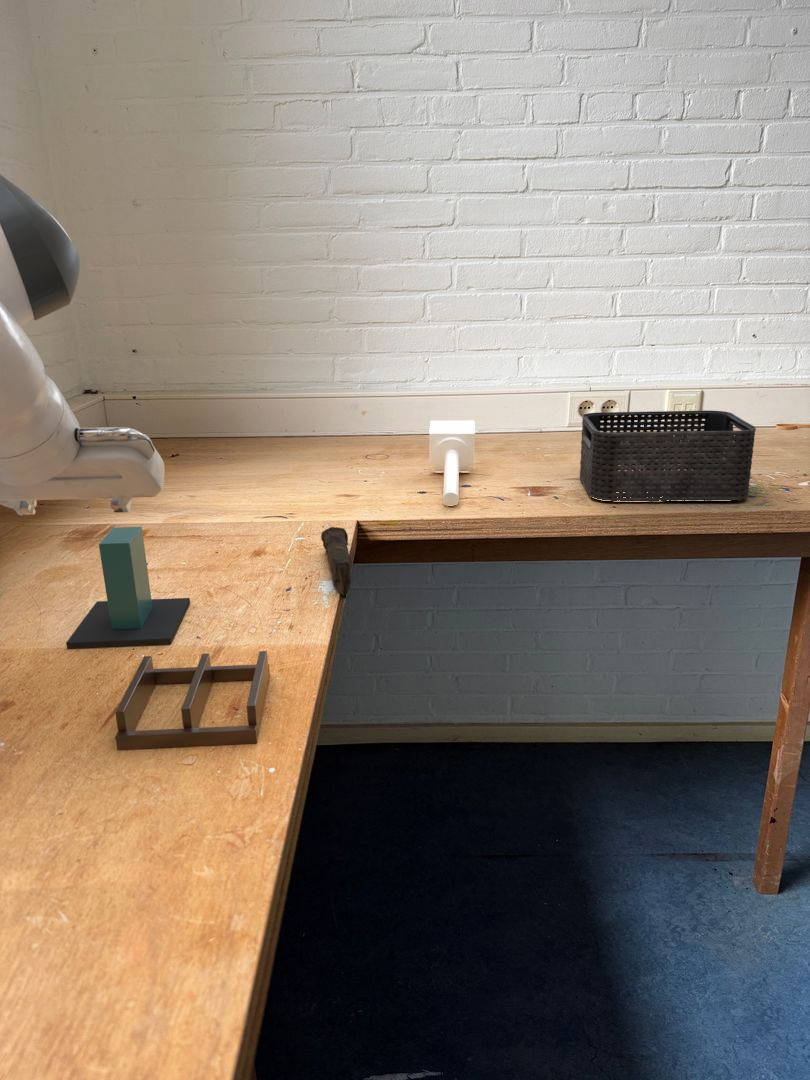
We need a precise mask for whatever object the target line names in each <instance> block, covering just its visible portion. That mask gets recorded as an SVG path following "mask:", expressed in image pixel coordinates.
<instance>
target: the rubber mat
mask: <svg viewBox="0 0 810 1080" xmlns="http://www.w3.org/2000/svg"><path fill="white" fill-rule="evenodd" d="M151 600H152V607H153V608H152V610H151V612H150V613H149V615H148V617H147V619H146V620H145V622H144V624H143V626H142V628H140V629H115V630H112V628H111V621H110V615H109V608H108V602H107V600H98V601H97V600H96V602H95V603H94V605H93V606H92V607H91V608H90V610H89V611H88V613H87V614H86V615H85V617H84V618H83V619H82V621H81V622H80V623H79V625H78V626H77V627H76V629H75V630H74V631H73V633H72V634H71V635H70V637H69V638H68V640H67V641H66V644H65V645H66V648H67V649H68V650H69V649H91V648H92V649H93V648H117V647H136V646H139V647H141V646H142V647H143V646H162V645H172V643H173V640H175V636H176V634H177V632H178V630H179V627H180V625H181V623H182V622H183V619H184V617H185V615H186V613H187V611H188V609H189V606H190V604H191V598H190V597H175V598H173V597H172V598H153V599H152V598H151Z"/></svg>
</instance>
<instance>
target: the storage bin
mask: <svg viewBox="0 0 810 1080" xmlns="http://www.w3.org/2000/svg"><path fill="white" fill-rule="evenodd" d="M581 419H582V421H581V422H582V423H581V425H582V426H581V428H582V429H581V441H580V445H581V447H580V462H579V464H580V467H579V468H580V469H579V481H580V482H581V481H582V482H581V484H582V483H583V484H582V486H583V485H584V486H583V487H585V488H586V490H587V491H586V490H585V491H586V493H587V492H588V493H589V495H590V496H591V497H594V498H597V499H602V500H611V501H617V500H618V501H619V500H620V501H659V500H661V501H667V500H669V501H671V500H684V501H685V500H704V501H705V500H738V501H743V500H742V499H744V500H746V499H748V497H749V490H750V489H749V488H750V480H751V473H752V472H751V470H752V464H753V455H754V446H755V436H756V431H757V427H756V426H755V425H753V424H751V423H749V422H747V421H746V420H744V419H742V418H741V417H739V416H738V415H736V414H734V413H732V412H729V411H723V410H664V411H663V410H660V411H659V410H658V411H656V410H655V411H603V412H601V411H599V412H588V413H584V414H582V418H581ZM734 427H735V428H737V429H738V430H734ZM585 488H584V489H585ZM616 492H619V493H616ZM623 492H625V493H623ZM647 492H648V493H647ZM588 493H587V494H588ZM589 495H588V496H589ZM662 496H663V497H662ZM617 497H618V498H617ZM623 497H626V498H623ZM630 497H631V498H630ZM647 497H648V498H647ZM652 497H653V498H652ZM660 497H662V498H660ZM745 498H746V499H745Z"/></svg>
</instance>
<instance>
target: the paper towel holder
mask: <svg viewBox="0 0 810 1080" xmlns="http://www.w3.org/2000/svg"><path fill="white" fill-rule="evenodd" d="M428 436H429V438H428V445H429V446H428V447H429V448H428V451H429V452H428V453H429V456H428V457H429V459H428V460H429V462H428V463H429V470H433V472H434V471H444V474H443V487H442V503H443V505H444V506H446V505H456V506H457V505H458V503H459V499H460V489H459V488H460V474H459V471H470V472H471V470H475V462H476V461H475V459H476V458H475V455H476V451H475V450H476V425H475V420H430V423H429V431H428Z"/></svg>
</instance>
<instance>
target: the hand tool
mask: <svg viewBox="0 0 810 1080" xmlns="http://www.w3.org/2000/svg"><path fill="white" fill-rule="evenodd" d="M320 540H321V541H322V546H323V548H324V550H325V554H326V555H327V561H328V565H329V569H330V570H329V571H330V575H331V580H332V585H333V587H334V589H335V590H337V592H338V593H339V594H341V595H342V596H346V595H347V594H348V593H349V591H350V588H351V582H352V575H351V574H352V572H351V571H352V569H351V567H352V565H351V564H352V562H351V561H352V559H351V555H350V553H349V547H348V546H349V535H348V532H347V531H346V528H343V527H337V526H331V527H329V528H326V529H324V530H323V531H322V532H321V536H320Z"/></svg>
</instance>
